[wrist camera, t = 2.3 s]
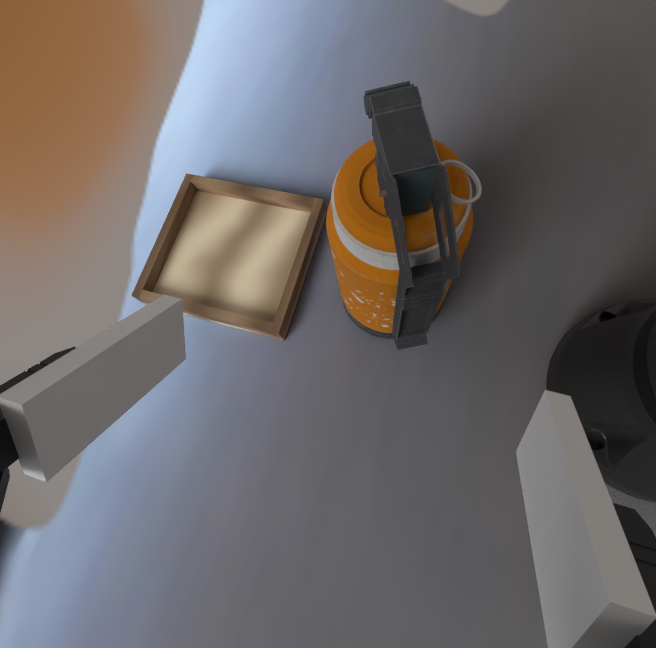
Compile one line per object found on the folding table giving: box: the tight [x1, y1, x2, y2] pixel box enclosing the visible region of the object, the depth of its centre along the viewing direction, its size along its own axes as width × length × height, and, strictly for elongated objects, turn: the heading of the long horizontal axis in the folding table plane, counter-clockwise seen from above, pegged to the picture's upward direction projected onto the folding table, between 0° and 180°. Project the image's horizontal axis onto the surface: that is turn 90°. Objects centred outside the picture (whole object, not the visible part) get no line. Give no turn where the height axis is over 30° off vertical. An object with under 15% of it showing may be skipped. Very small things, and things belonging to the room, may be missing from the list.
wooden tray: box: [132, 174, 327, 341], centre depth 39 cm, size 15×14×2 cm
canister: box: [326, 81, 482, 350], centre depth 27 cm, size 9×11×20 cm
